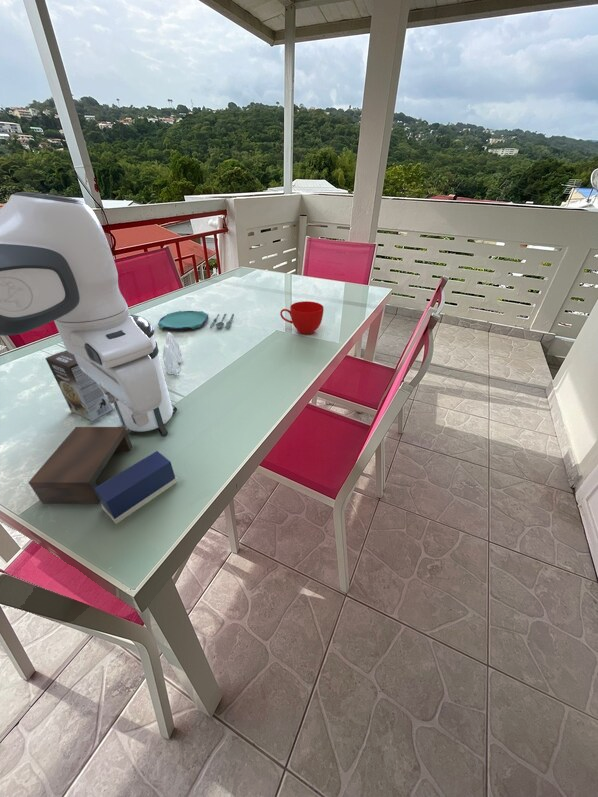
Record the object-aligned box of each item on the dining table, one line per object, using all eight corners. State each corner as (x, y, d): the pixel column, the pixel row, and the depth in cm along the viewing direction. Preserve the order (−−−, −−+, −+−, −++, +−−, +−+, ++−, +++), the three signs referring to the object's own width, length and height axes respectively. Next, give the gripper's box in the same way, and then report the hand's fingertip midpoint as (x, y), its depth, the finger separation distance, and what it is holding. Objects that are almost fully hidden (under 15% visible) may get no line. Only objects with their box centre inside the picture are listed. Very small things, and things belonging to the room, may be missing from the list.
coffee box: (69, 411, 88) (43, 357, 78) (92, 399, 92) (69, 347, 83) (92, 422, 84) (67, 366, 75) (114, 409, 89) (93, 355, 80)
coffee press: (195, 421, 85) (170, 307, 68) (132, 451, 75) (85, 328, 58) (164, 394, 95) (136, 289, 78) (106, 418, 86) (59, 304, 69)
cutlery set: (169, 314, 147) (168, 309, 146) (236, 315, 146) (235, 310, 145) (152, 332, 130) (150, 327, 129) (227, 333, 130) (227, 328, 129)
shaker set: (171, 358, 113) (164, 328, 106) (184, 357, 113) (177, 327, 107) (165, 376, 103) (156, 344, 97) (179, 375, 103) (171, 343, 97)
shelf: (42, 503, 64) (27, 482, 60) (85, 446, 77) (75, 426, 73) (99, 503, 64) (88, 482, 60) (132, 446, 77) (125, 426, 73)
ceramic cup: (282, 324, 139) (281, 300, 133) (322, 325, 138) (323, 301, 133) (279, 336, 128) (278, 312, 123) (322, 338, 128) (324, 313, 122)
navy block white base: (115, 524, 60) (105, 503, 57) (103, 509, 63) (92, 488, 59) (177, 481, 68) (171, 461, 65) (164, 470, 71) (157, 449, 68)
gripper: (45, 318, 49) (79, 395, 57) (108, 362, 38) (140, 450, 46) (90, 307, 53) (116, 381, 61) (158, 344, 42) (179, 428, 50)
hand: (127, 411), depth 53 cm, fingers open, 8 cm apart
